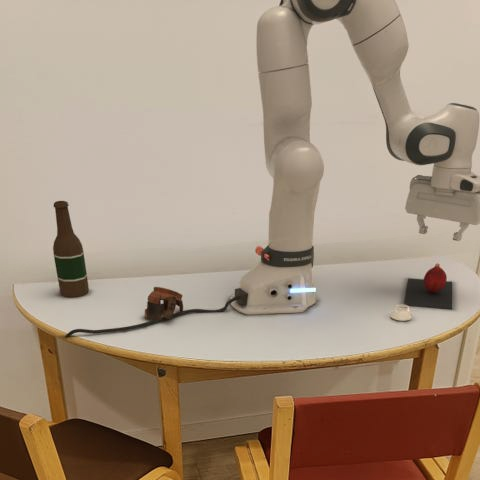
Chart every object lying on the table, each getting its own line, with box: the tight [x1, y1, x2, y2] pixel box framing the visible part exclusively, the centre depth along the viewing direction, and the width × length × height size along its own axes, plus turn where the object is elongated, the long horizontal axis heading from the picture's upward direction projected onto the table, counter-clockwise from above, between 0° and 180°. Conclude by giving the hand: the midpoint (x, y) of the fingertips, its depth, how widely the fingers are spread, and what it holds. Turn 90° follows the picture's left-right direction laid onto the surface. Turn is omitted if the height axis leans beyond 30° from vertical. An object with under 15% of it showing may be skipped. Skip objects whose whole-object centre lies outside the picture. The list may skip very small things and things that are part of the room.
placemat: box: [403, 277, 453, 311], centre depth 162 cm, size 22×12×1 cm, turn 163°
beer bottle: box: [52, 200, 90, 298], centre depth 158 cm, size 8×8×24 cm
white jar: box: [390, 304, 413, 322], centre depth 146 cm, size 5×3×5 cm
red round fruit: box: [423, 263, 448, 293], centre depth 159 cm, size 6×6×8 cm
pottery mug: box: [144, 286, 184, 323], centre depth 148 cm, size 12×10×8 cm
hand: (439, 236), depth 153 cm, fingers open, 8 cm apart
